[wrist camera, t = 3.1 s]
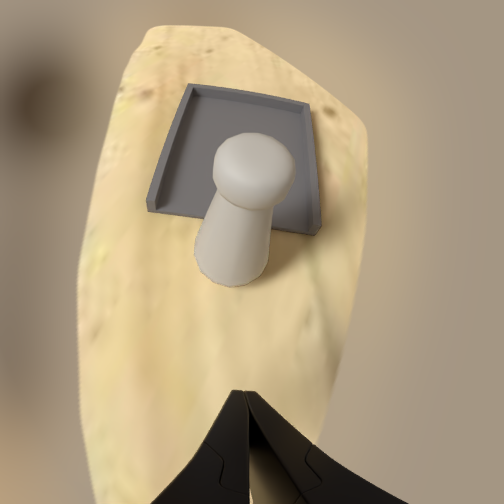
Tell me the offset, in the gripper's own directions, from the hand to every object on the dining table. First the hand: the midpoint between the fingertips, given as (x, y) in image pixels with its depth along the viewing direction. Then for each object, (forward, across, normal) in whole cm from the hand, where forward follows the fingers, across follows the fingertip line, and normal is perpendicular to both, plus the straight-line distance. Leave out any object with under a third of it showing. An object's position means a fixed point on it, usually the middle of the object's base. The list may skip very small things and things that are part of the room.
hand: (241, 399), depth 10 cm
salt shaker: (+17, 0, -2) cm, 17 cm away
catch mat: (+26, 0, +8) cm, 27 cm away
